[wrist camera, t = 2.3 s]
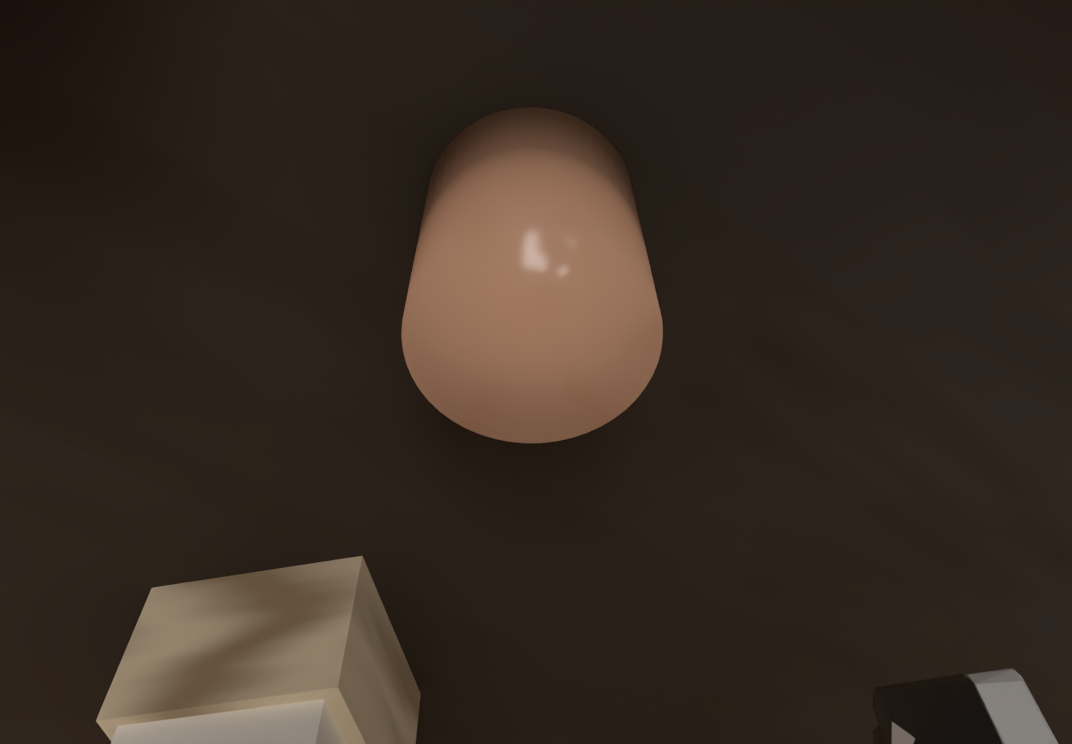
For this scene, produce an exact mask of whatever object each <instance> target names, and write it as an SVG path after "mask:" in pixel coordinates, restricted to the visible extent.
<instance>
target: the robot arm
mask: <svg viewBox="0 0 1072 744" xmlns="http://www.w3.org/2000/svg"><path fill="white" fill-rule="evenodd" d="M873 709H874V712H875V715H876V718H877V720H878V723H879V726H878V727H877V728H876V729H875V730H874V731H873V742H874V744H1058V742H1057V740H1056V739H1055V737H1054V735H1053V733H1052V731H1051V729H1050V728H1049V726H1048V724H1047V722H1046V720H1045V718H1044V716H1043V715H1042V713H1041V711H1040V709H1039V707H1038V705H1037V704H1036V702H1035V700H1034V698H1033V696H1032V694H1031V693H1030V691H1029V689H1028V687H1027V685H1026V683H1025V681H1024V680H1023V678H1022V676H1021V675H1020V674H1018V673H1017V672H1016V671H1015V670H1014V669H1011V668H1004V669H998V670H992V671H986V672H980V673H974V674H968V675H963V674H957V675H951V676H944V677H938V678H932V679H926V680H919V681H913V682H907V683H900V684H894V685H888V686H882V687H875V690H874V692H873Z"/></svg>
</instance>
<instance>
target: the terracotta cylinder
mask: <svg viewBox="0 0 1072 744" xmlns="http://www.w3.org/2000/svg"><path fill="white" fill-rule="evenodd" d="M401 337H402V347H403V353H404V357H405V361H406V364H407V367H408V369H409V371H410V374H411V376H412V378H413V380H414V381H415V383H416V385H417V386H418V388H419V390H420V391H421V392H422V393H423V395H424V396H425V397H426V398H427V400H428V401H429V402H430V403H431V404H432V405H433V406H434V407H435V408H437V409H438V410H439V411H440V412H441V413H442V414H444V415H445V416H446V417H448V418H449V419H451V420H452V421H454V422H455V423H457V424H459V425H461V426H462V427H464V428H466V429H469V430H471V431H473V432H475V433H478V434H480V435H484V436H487V437H490V438H493V439H498V440H503V441H508V442H518V443H546V442H555V441H560V440H565V439H569V438H573V437H576V436H579V435H582V434H585V433H588V432H590V431H592V430H594V429H597V428H599V427H601V426H603V425H604V424H606V423H608V422H609V421H611V420H613V419H614V418H616V417H617V416H618V415H619V414H621V413H622V412H623V411H625V410H626V409H627V408H628V407H629V406H630V405H631V404H632V403H633V402H634V401H635V400H636V399H637V398H638V397H639V395H640V394H641V393H642V391H643V390H644V389H645V388H646V386H647V384H648V382H649V381H650V379H651V377H652V376H653V373H654V371H655V369H656V366H657V364H658V361H659V357H660V353H661V349H662V339H663V326H662V317H661V312H660V308H659V304H658V299H657V295H656V291H655V286H654V282H653V278H652V273H651V269H650V264H649V260H648V256H647V251H646V247H645V243H644V238H643V234H642V230H641V225H640V221H639V217H638V212H637V208H636V204H635V199H634V195H633V191H632V186H631V182H630V177H629V174H628V172H627V169H626V166H625V164H624V162H623V160H622V159H621V157H620V155H619V153H618V152H617V150H616V149H615V148H614V147H613V145H612V144H611V143H610V141H609V140H608V139H607V138H606V137H604V136H603V135H602V134H601V133H600V132H599V131H598V130H596V129H595V128H594V127H592V126H591V125H590V124H588V123H586V122H584V121H583V120H581V119H579V118H577V117H575V116H572V115H570V114H567V113H565V112H561V111H557V110H553V109H547V108H539V107H521V108H513V109H507V110H503V111H500V112H496V113H493V114H491V115H488V116H486V117H483V118H481V119H479V120H478V121H476V122H474V123H473V124H471V125H469V126H468V127H467V128H465V129H464V130H463V131H461V132H460V133H459V134H458V135H457V136H456V137H455V138H454V139H453V140H452V141H451V142H450V143H449V144H448V146H447V147H446V148H445V150H444V151H443V152H442V154H441V155H440V157H439V159H438V161H437V163H436V165H435V167H434V170H433V172H432V175H431V178H430V182H429V187H428V192H427V197H426V202H425V207H424V212H423V217H422V223H421V228H420V233H419V238H418V243H417V248H416V253H415V258H414V263H413V268H412V274H411V279H410V284H409V289H408V294H407V299H406V304H405V309H404V314H403V320H402V333H401Z"/></svg>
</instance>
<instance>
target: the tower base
mask: <svg viewBox="0 0 1072 744" xmlns="http://www.w3.org/2000/svg"><path fill="white" fill-rule="evenodd" d="M420 695H421V694H420V691H419V689H418V686H417V684H416V682H415V679H414V677H413V675H412V672H411V670H410V667H409V665H408V663H407V660H406V658H405V656H404V653H403V651H402V648H401V646H400V644H399V641H398V639H397V637H396V634H395V632H394V630H393V627H392V625H391V622H390V620H389V618H388V615H387V613H386V611H385V608H384V606H383V603H382V601H381V599H380V596H379V594H378V592H377V589H376V587H375V584H374V582H373V580H372V577H371V575H370V573H369V570H368V568H367V565H366V563H365V561H364V558H363V556H358V557H351V558H345V559H338V560H332V561H325V562H319V563H312V564H305V565H299V566H292V567H286V568H279V569H272V570H266V571H259V572H253V573H246V574H240V575H233V576H226V577H220V578H213V579H207V580H200V581H193V582H187V583H180V584H174V585H167V586H160V587H154V588H152V589H151V591H150V593H149V596H148V598H147V601H146V603H145V605H144V608H143V610H142V612H141V615H140V617H139V620H138V622H137V624H136V627H135V629H134V631H133V634H132V636H131V639H130V641H129V643H128V646H127V648H126V650H125V653H124V655H123V658H122V660H121V662H120V665H119V667H118V669H117V672H116V674H115V677H114V679H113V681H112V684H111V686H110V688H109V691H108V693H107V696H106V698H105V700H104V703H103V705H102V708H101V710H100V712H99V715H98V717H97V719H96V722H97V723H98V724H99V726H100V727H101V728H102V730H103V731H104V732H105V734H106V735H107V736H108V738H109V739H110V740H111V742H112V739H113V737H114V734H115V732H116V729H117V727H118V726H121V725H129V724H137V723H144V722H152V721H160V720H167V719H175V718H183V717H191V716H198V715H206V714H214V713H222V712H229V711H237V710H245V709H252V708H260V707H268V706H276V705H283V704H291V703H299V702H306V701H314V700H322V699H324V700H325V702H326V704H327V706H328V708H329V710H330V712H331V714H332V716H333V718H334V720H335V722H336V724H337V726H338V728H339V730H340V732H341V734H342V736H343V738H344V740H345V742H346V744H416V734H417V725H418V715H419V705H420Z"/></svg>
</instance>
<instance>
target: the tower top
mask: <svg viewBox="0 0 1072 744" xmlns="http://www.w3.org/2000/svg"><path fill="white" fill-rule="evenodd" d="M111 744H346V742H345V740H344V738H343V736H342V734H341V732H340V730H339V728H338V726H337V724H336V722H335V720H334V718H333V716H332V714H331V712H330V710H329V708H328V706H327V704H326V702H325V700H324V699H322V700H314V701H306V702H299V703H291V704H283V705H276V706H268V707H260V708H252V709H245V710H237V711H229V712H222V713H214V714H206V715H198V716H191V717H183V718H175V719H167V720H160V721H152V722H144V723H137V724H129V725H121V726H118V727H117V729H116V732H115V734H114V737H113V739H112V742H111Z"/></svg>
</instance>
